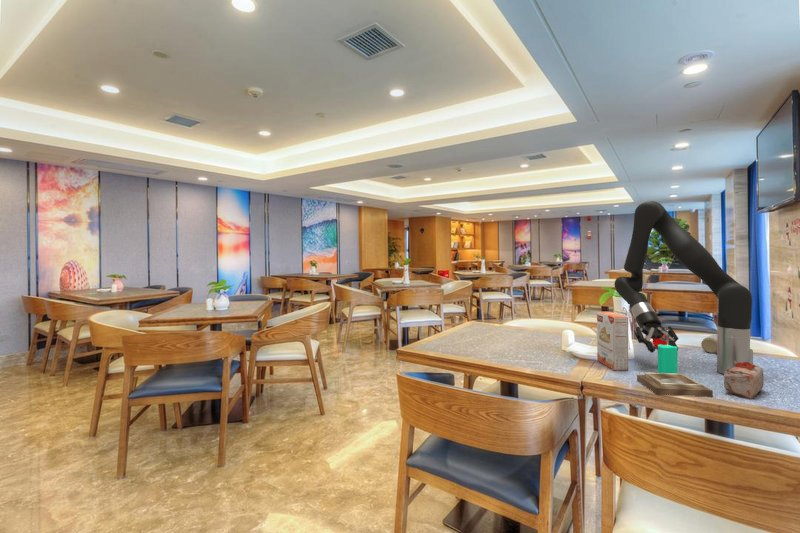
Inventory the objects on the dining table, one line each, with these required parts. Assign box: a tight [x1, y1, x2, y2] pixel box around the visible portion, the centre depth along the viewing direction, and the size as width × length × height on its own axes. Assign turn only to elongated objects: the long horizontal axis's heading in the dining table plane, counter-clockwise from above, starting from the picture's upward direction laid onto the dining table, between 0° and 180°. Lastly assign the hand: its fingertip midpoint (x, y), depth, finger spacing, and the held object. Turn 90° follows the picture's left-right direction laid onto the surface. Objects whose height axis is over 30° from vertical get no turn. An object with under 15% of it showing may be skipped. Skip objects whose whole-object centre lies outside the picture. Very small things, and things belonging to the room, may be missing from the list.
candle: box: [657, 342, 678, 374], centre depth 143 cm, size 6×6×12 cm
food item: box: [723, 361, 764, 399], centre depth 124 cm, size 14×8×10 cm, turn 127°
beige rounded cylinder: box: [700, 333, 717, 354], centre depth 173 cm, size 11×8×8 cm
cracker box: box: [596, 311, 629, 372], centre depth 155 cm, size 14×6×21 cm, turn 177°
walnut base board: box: [636, 372, 714, 398], centre depth 129 cm, size 16×14×3 cm
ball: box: [652, 334, 669, 349], centre depth 182 cm, size 8×8×8 cm
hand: (664, 351), depth 145 cm, fingers open, 8 cm apart
